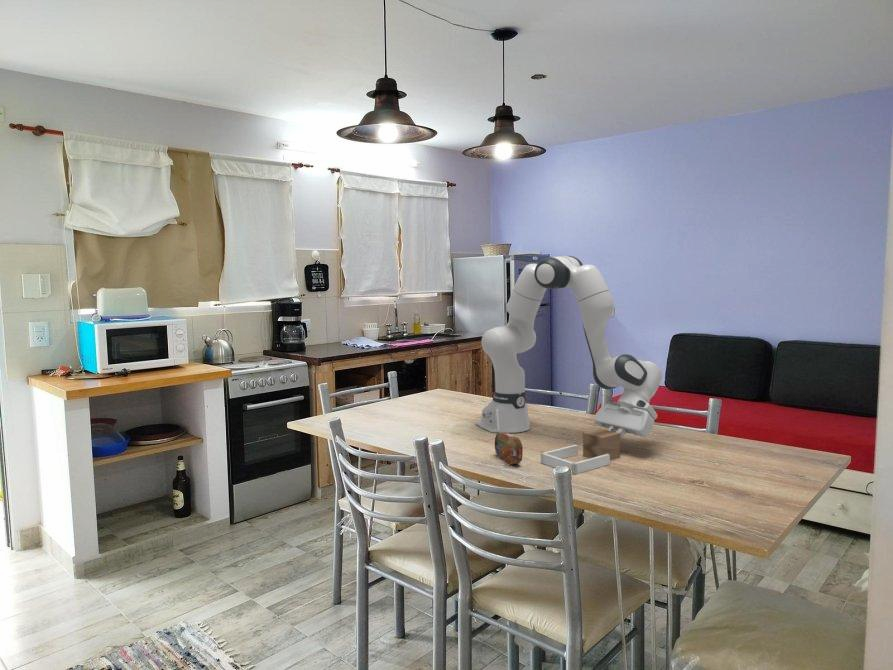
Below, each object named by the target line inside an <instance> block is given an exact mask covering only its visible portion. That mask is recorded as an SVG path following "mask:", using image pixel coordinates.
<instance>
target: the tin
mask: <svg viewBox="0 0 893 670" xmlns="http://www.w3.org/2000/svg"><path fill="white" fill-rule="evenodd" d="M494 449H495V454H496V456H497V458H499V459H500V460H501V461H503V462H505V463H507V464H509V465H518V464H520V463H521V462H522V460H523V455H524V454H523V449H524V447H523V444H522V441H521V439H520V438H519V437H517V436H515V435H513V434H511V433H507V432H496V434H495V438H494Z"/></svg>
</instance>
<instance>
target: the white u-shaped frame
mask: <svg viewBox="0 0 893 670" xmlns="http://www.w3.org/2000/svg"><path fill="white" fill-rule="evenodd" d="M578 455H579V445H577V444H573V445H569V446H564V447H560V448H557V449H553V450H549V451H544V452H542V453H540V463H541V464H543V465H545V466H548V467H552V468H555V467H557V466H567V467H569V468H570V469H571V471H572V474H571V475H578V474H582V473H584V472H585V473H586V472H588V471H591V470H595V469H598V468H602V467H606V466H608V465H609V466H610V464H611V460H610V455H609V454H605V455H601V456H598V457H594V458H588V459H584V460H579V461H576V462H573V461H570V460H566V458H570V457H573V456H578ZM555 469H556V468H555Z"/></svg>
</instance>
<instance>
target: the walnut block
mask: <svg viewBox="0 0 893 670" xmlns="http://www.w3.org/2000/svg"><path fill="white" fill-rule="evenodd" d="M605 454H609V455H610V461H612V460H614V459H618V458H620V457H621V438H620V433H617V431H616V432H612V431H609V429H608V430H607V429H604V428H597V429H593V430H588V431H584V432H582V456H583V457H586V458H588V459H590V458H594V457H598V456H601V455H605Z"/></svg>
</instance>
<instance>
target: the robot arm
mask: <svg viewBox="0 0 893 670" xmlns="http://www.w3.org/2000/svg"><path fill="white" fill-rule="evenodd" d="M564 288H569V289H570V290H571V291H572V292H573V294H574V296H575V299H576V302H577V305H578V308H579V310H580V312H581V317H582V318H581V319H582V327H583V332H584V336H585V340H586V343H587V347H588V350H589V354H590V356H591V357H590V358H591V361H592V377H593V379H594V382H595V383H596V384H597V386H599V387H600V388H601V389H603V390H607V391H609V390H614V389H616V388H619V387H621V388H623V392H622V393H621V395H620V397H619V399H618V400H617V402H614V401H608V402H606V403H604V404H603V405H602V406H601V407H600V408H599V409H598V411H597V412H596V414H595V415H594V416H593V421H594V423H595V424H596V425H597V427H601V428H605V429H608V431H612V432H616V433H620V439H621V438H622V437H624V436H625V435H626V433H627V434H629V435H630V434H631V435H634V436H639V437H643V438H645V437H648V436H649V435H650V433H651V432H652V430H653V428H654V425H655V420H656V419H657V418H658V414H657V412H656V410H655V409H654V408H653V406H651V404H650V401H651V399H652V398H653V397H654V395H655V394H656V392H657V390H658V389H659V386H660V384H661V382H662V378H663V371H662V370H661V368H660V367H659V366H658V365H657V364H656V363H655V362H652V361H650V360H641V359H637V358H636V357H635V356H633V355H631V354H629V353H627V354H626V353H625V354H620V355H616V356H614V357H611V354H610V351H609V348H608V344H607V340H606V337H605V336H606V335H605V330H606V326H607V324H608V322H609V320H610V319H611V318H612V316H613V314H614V312H615V302H614V298H613V296H612V293H611V291H610V288H609V286H608V284H607V281H606V280H605V278H604V277H603V275H602V273H601V271H600V270H599V268H598V267H597V266H596V265H593V264H590V263H589V264H583V262H582V260H580V259H579V258H577V257H575V256H572V255H556V256H552V257H551V256H549V257H546V258H543V259H542V260H540V261H539V262H538V263H528V264H527V265H525V266H524V268H523V269H522V271H521V273H520V274H519V276H518V278H517V280H516V282H515V284H514V287H513V289H512V291H511V294H510V297H509V299H508V302H507V304H506V311H507V313H508V315H509V316H508V322H507V324H506V325H500V326H495V327H492V328H491V329H489V330H486V331H485V332H484V333H483V334H482V337H481V344H480V345H481V347H482V350H483V352H484V353H485V354H486V355H488V357H489V358H490V361H491V363H492V366H493V371H494V383H495V390H494V391H491V392H490V393H491V396H492V401H490V402H489V403H488V404H487V405H486V406H485V407H484V408H482V410H481V418H480V419H479V420H476V421H475V425H476V426H478V427H480V428H482V429H484V430H486V431H488V432H490V433H498V432H507V433H509V434H511V433H513V434H514V433H521V432H525V431H526V432H527V431H528V430H530V429H531V421H530V417H529V409H528V405H527V397H528V395H527V391H526V374H525V373H526V371H525V369H524V368H523V367H522V366H521V365H520V364H519V361H518V358H517V355H518V354H523V353H526V352H527V351H529V350H531V349H532V348H533V347H534V346H535V344H536V343H537V342H536V341H537V335H536V334H537V333H536V331H535V330H534V328H535V327H534V326H535V321H536V317H537V313H538V312H539V311H538V310H539V309H540V306H541V303H542V301H543V299H544V296H545V293H546V291H547V290H555V289H564Z"/></svg>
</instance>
